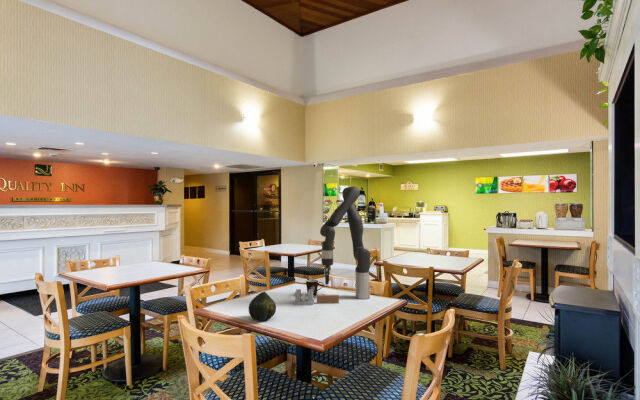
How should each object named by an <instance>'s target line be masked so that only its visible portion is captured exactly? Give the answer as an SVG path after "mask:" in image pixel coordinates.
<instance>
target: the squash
mask: <svg viewBox="0 0 640 400" xmlns="http://www.w3.org/2000/svg"><path fill="white" fill-rule="evenodd" d="M276 311H277V305H276V302H275V300H274V299H272V297H271V296H270V295H269V294H268V293H267V292H266V291H262V292H260V293H259V294H257V295H256V296H255V297H253V298H252V300H251V301H250V302H249V304H248V313H249V316H250V317H251V318H252V319H254V320H260V321H261V322H265V321H269V320H270V319H271V318H272V317H273V316H274V315H275V314H276Z"/></svg>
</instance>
